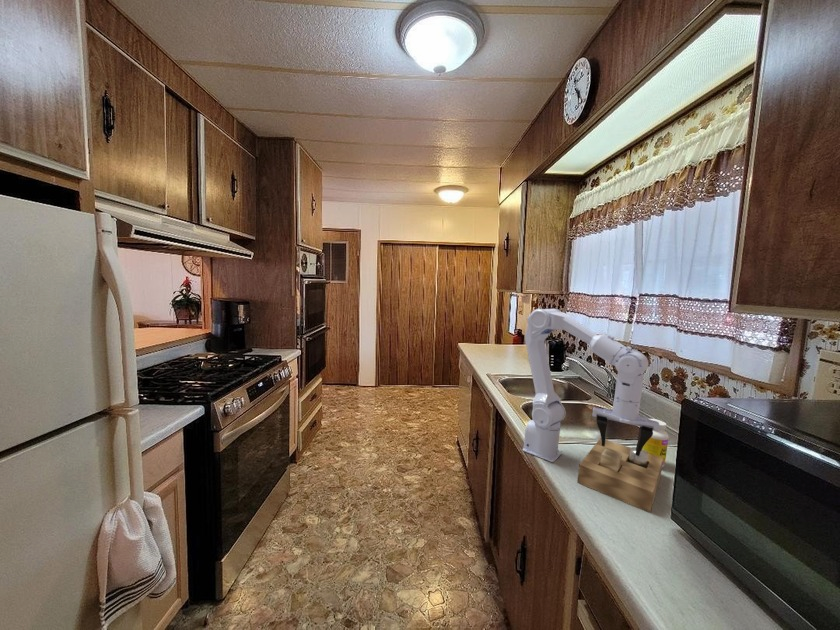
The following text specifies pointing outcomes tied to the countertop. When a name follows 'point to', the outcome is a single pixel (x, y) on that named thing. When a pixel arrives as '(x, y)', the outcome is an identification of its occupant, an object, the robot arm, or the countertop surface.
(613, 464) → the peg maple
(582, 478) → the oak block
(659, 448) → the supplement bottle
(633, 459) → the peg steel
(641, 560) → the countertop surface
